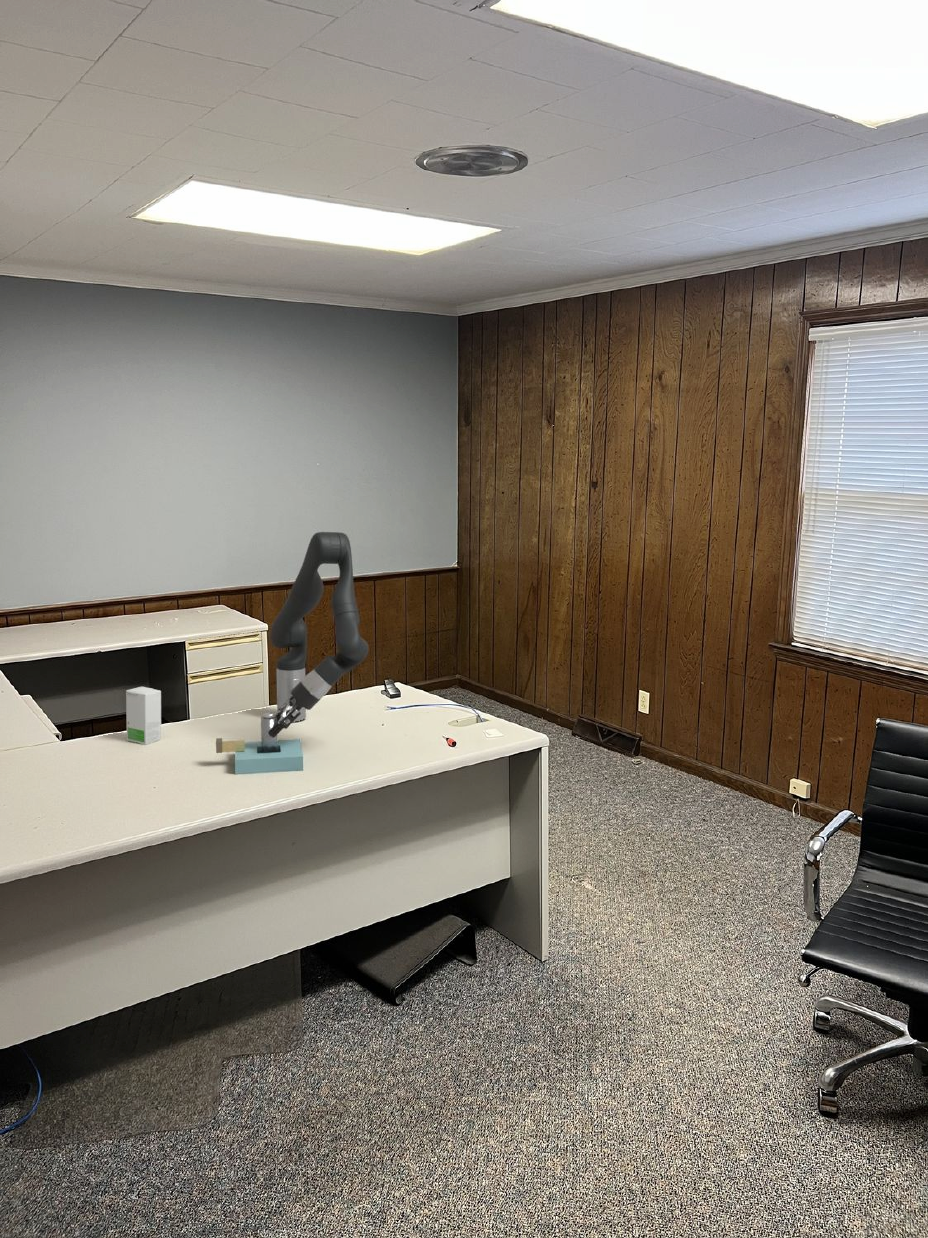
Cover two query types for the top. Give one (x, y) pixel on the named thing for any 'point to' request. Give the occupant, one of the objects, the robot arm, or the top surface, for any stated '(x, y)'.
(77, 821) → the top surface
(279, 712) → the robot arm
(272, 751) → the metal capped cylinder
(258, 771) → the dock
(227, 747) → the block hammer
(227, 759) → the top surface
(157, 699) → the skincare box
